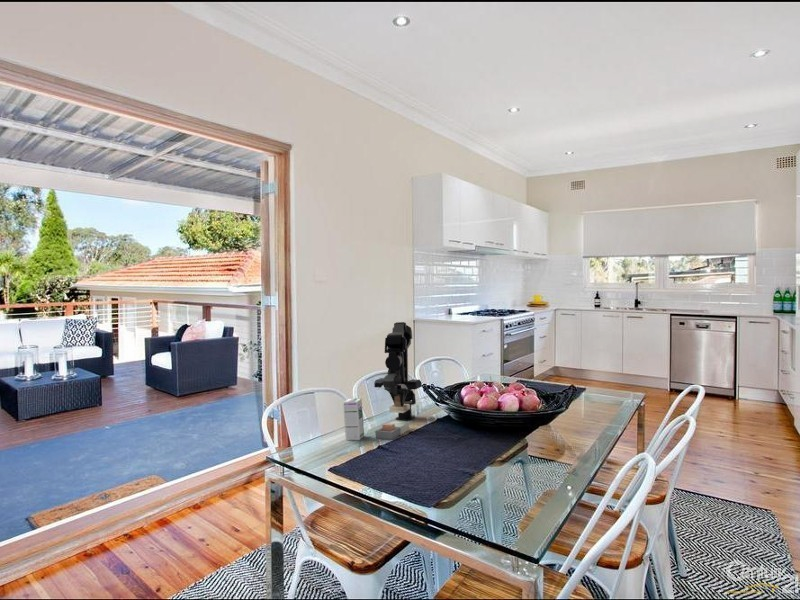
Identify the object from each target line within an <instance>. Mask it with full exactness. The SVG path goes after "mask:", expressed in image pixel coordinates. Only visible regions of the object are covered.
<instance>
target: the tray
mask: <svg viewBox="0 0 800 600" xmlns="http://www.w3.org/2000/svg"><path fill="white" fill-rule="evenodd" d="M374 433H375V439H378V440H386V441H387V440H388V441H389V440H390V441H393V440H394V438H395V439H396V438H398V437H400V436H402V434H401V432H400V428H399V427H398V428H396V429H395V430H393V431H391V432H389V431H383V429H382V427H380V428H378V429H376V430H375V431H374ZM399 435H400V436H399ZM392 439H393V440H392Z"/></svg>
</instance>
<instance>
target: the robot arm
mask: <svg viewBox="0 0 800 600" xmlns="http://www.w3.org/2000/svg"><path fill="white" fill-rule="evenodd" d="M384 338H385V339H384V353H385V354H388V356H387V357H386V359H385V361H384V363H385V366H386V369H388V370H387V374H386V375H385V376H384V377H381V378H378V379H375V380H374V388H378V389H379V388H382V387H383V389H384V390H385V391H386V392H388V393H389V395H390V397H391V399H392V402H393V405H394V404H395V400H394V396H396V395H400V399H401V406H402V405H403V404H410V409H409V410H408V411H406V412H404V413H397V414H398V416H397V417H395V420H399V421H400V420H402V421H410V420H411V419H413V417H414V418H415V417H416V415H412V406H414V405H416V403H417V402H416V394H415V393H414V390H418V389H420V388H422V387H423V382H422V380H421V379H414V378H413V379H412V378H411V379H409V359H408V356H409V353H408V350H409V347H410V346H411V344H412V339H413V330H412V327H410V326H408V325H407V323H406V322H404V321H401V322H400V321H398V322H394V324H393V327H392V332H390V333H388V334H387V335H386V337H384Z"/></svg>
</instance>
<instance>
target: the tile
mask: <svg viewBox="0 0 800 600" xmlns="http://www.w3.org/2000/svg"><path fill="white" fill-rule="evenodd" d="M381 428H382V429H383V431H389V432H391V431H393V430H395V424H390V422H389V423H388V422H384V423H383V424H382V427H381Z"/></svg>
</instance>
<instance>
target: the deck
mask: <svg viewBox="0 0 800 600" xmlns="http://www.w3.org/2000/svg"><path fill="white" fill-rule="evenodd" d="M389 423H390V424H395V429H396V428H398V427H399V428H400V432H401V435H403V434H405V433H406V432H405V431H407V430H408V429H409V430H410V422H409V421H408V422H407V421H400V420H399V421H396V420H392V421H391V422H389ZM409 430H408V431H409ZM408 431H407V432H408ZM404 432H405V433H404ZM402 433H403V434H402Z"/></svg>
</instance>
